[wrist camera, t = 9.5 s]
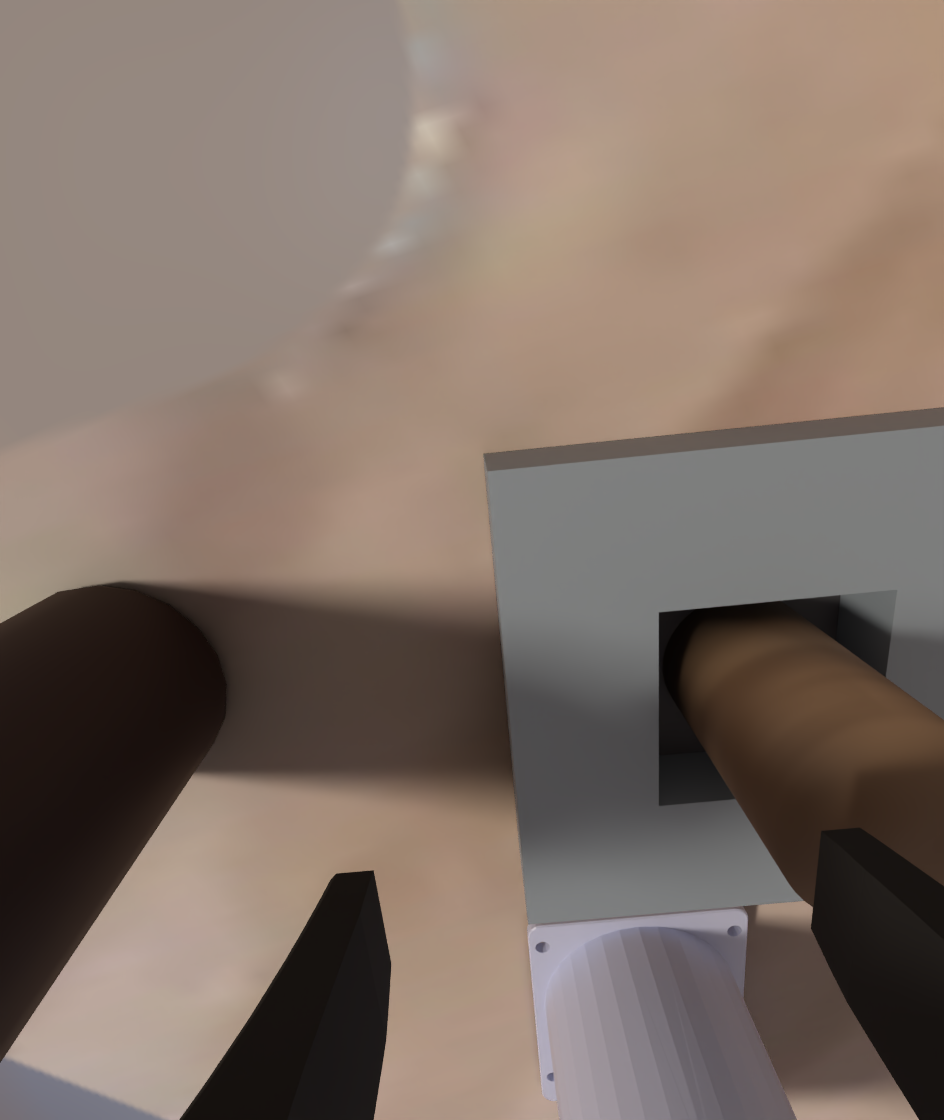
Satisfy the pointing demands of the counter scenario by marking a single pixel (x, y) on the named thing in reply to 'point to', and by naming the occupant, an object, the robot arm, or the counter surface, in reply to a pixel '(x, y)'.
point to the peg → (808, 736)
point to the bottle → (88, 765)
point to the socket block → (662, 604)
